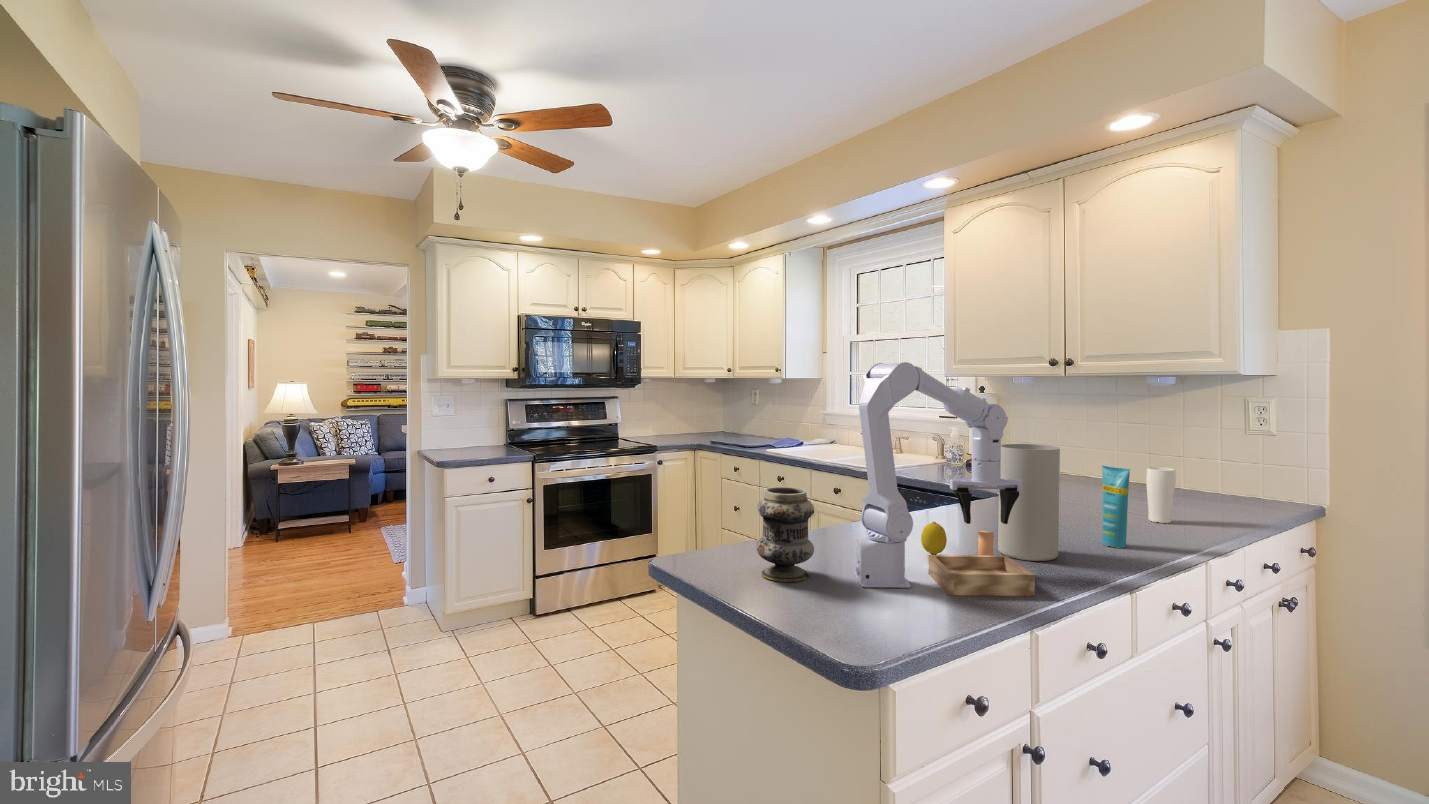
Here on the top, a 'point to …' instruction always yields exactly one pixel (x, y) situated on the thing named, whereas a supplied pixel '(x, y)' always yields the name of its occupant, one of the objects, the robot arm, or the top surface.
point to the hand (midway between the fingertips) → (985, 522)
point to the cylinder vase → (1031, 502)
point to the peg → (985, 543)
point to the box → (981, 575)
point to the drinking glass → (1160, 493)
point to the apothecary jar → (785, 533)
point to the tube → (1115, 505)
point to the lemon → (933, 538)
